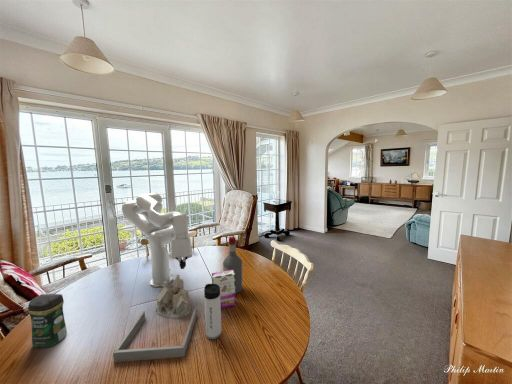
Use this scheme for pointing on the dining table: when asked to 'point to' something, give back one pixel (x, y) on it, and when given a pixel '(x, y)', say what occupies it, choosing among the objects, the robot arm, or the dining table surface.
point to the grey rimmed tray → (151, 353)
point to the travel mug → (212, 311)
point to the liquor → (234, 264)
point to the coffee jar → (47, 320)
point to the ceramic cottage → (173, 300)
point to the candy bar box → (226, 287)
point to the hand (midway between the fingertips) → (182, 267)
